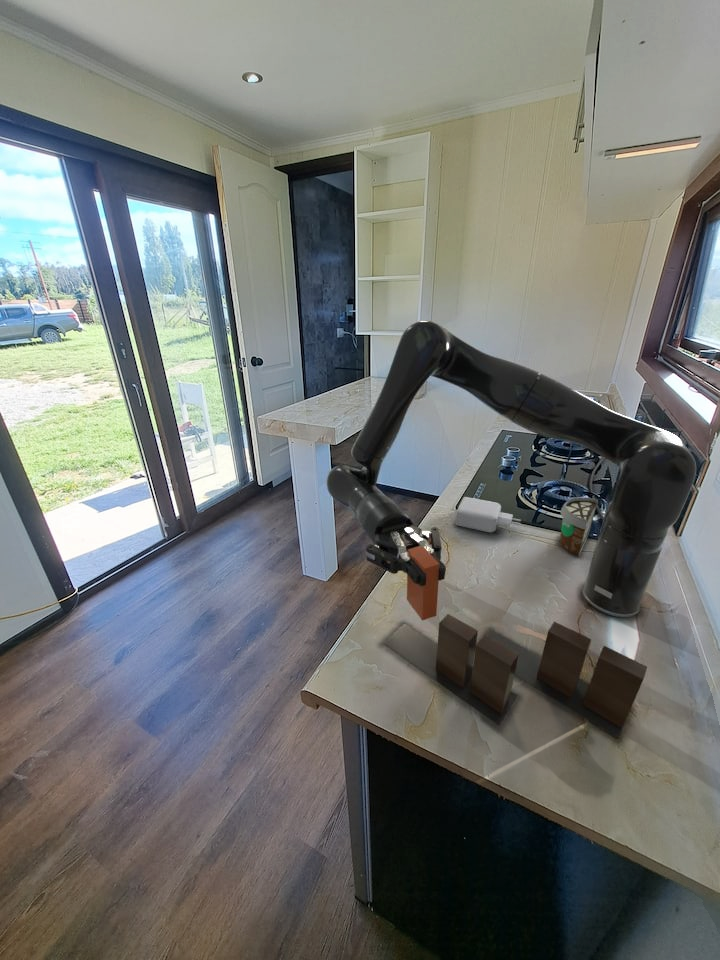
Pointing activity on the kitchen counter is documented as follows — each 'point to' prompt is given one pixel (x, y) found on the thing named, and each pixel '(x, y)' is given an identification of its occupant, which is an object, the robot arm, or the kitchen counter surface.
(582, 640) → the brown notched block
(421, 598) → the orange upright brick
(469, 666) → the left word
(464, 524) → the charger
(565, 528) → the food container
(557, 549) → the kitchen counter surface
